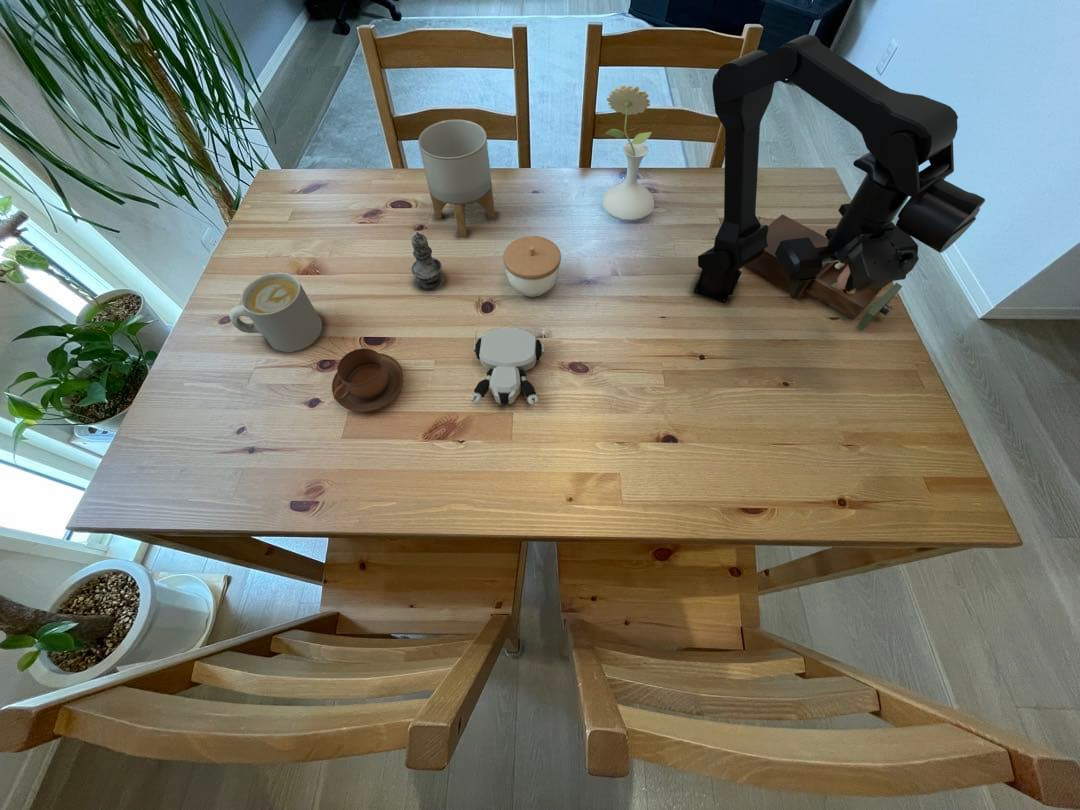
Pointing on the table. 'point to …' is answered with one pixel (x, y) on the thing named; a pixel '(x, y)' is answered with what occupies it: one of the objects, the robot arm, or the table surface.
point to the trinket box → (532, 264)
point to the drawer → (849, 295)
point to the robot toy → (507, 363)
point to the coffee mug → (278, 312)
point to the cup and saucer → (366, 380)
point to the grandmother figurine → (842, 278)
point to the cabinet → (776, 233)
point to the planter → (457, 168)
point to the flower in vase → (629, 160)
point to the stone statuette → (425, 265)
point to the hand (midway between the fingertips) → (819, 293)
